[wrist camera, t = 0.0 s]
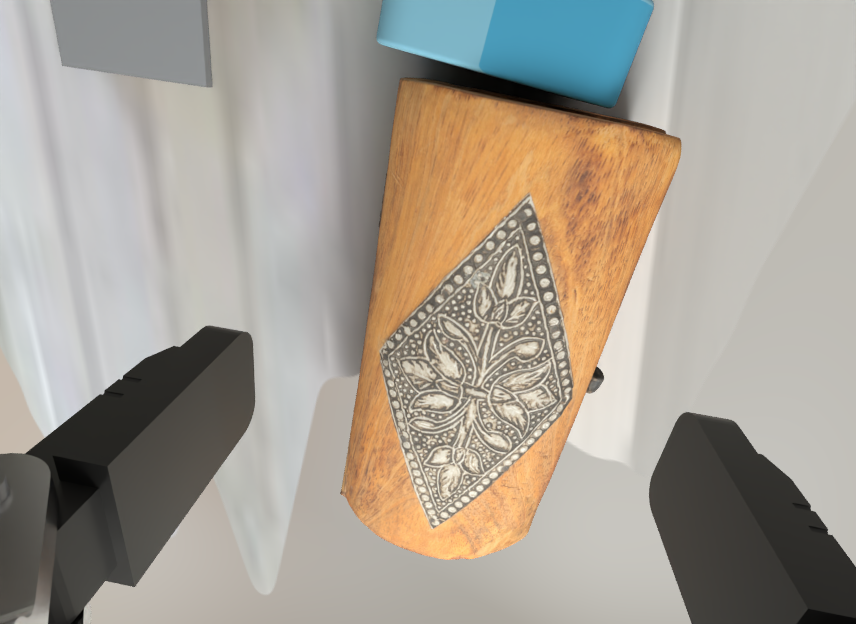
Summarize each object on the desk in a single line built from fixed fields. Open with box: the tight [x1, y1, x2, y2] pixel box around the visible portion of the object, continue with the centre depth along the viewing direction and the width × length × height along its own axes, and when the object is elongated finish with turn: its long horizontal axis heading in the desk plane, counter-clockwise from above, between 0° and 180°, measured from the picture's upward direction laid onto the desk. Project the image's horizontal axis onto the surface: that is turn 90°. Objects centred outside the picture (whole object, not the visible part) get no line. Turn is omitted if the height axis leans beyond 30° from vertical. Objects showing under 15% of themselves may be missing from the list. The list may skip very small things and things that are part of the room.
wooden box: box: [340, 77, 681, 560], centre depth 34 cm, size 30×16×14 cm, turn 170°
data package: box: [377, 0, 654, 108], centre depth 26 cm, size 12×4×12 cm, turn 76°
